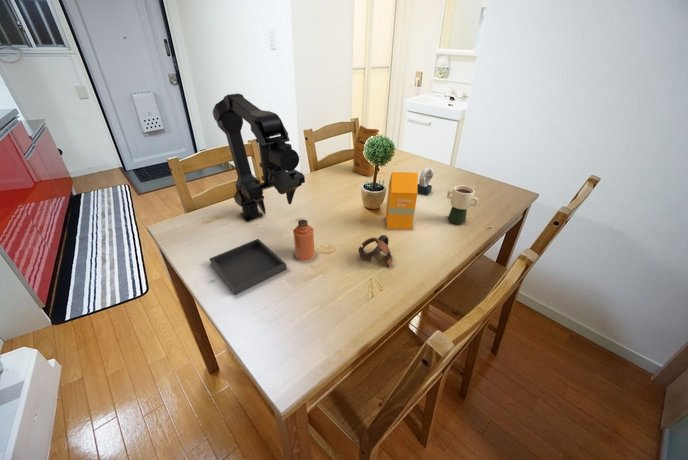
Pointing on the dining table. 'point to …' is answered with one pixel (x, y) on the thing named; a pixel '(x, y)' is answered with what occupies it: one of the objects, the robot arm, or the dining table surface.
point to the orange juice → (401, 200)
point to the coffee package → (359, 160)
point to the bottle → (304, 241)
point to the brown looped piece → (376, 249)
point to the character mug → (460, 203)
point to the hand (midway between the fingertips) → (277, 208)
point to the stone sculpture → (425, 181)
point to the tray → (247, 265)
